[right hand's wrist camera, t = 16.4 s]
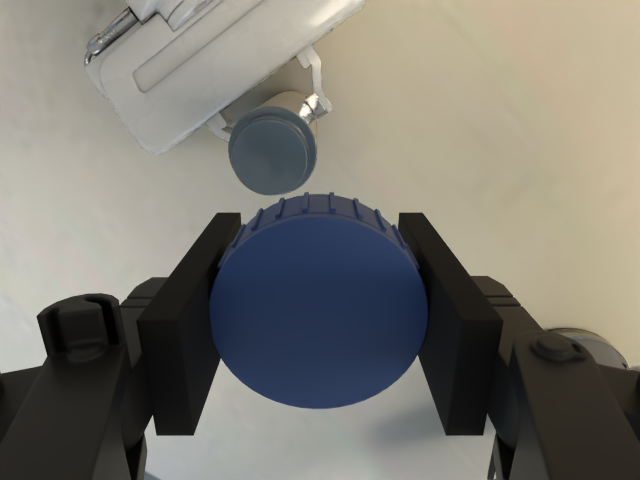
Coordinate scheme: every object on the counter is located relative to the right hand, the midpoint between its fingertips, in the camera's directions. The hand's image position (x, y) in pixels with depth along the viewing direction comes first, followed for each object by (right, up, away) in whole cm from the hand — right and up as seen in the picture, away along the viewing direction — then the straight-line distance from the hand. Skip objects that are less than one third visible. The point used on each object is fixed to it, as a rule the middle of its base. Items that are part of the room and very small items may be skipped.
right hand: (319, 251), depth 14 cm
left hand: (-2, +9, +19) cm, 21 cm away
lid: (0, -1, -4) cm, 4 cm away
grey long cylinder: (-3, +12, +25) cm, 27 cm away
